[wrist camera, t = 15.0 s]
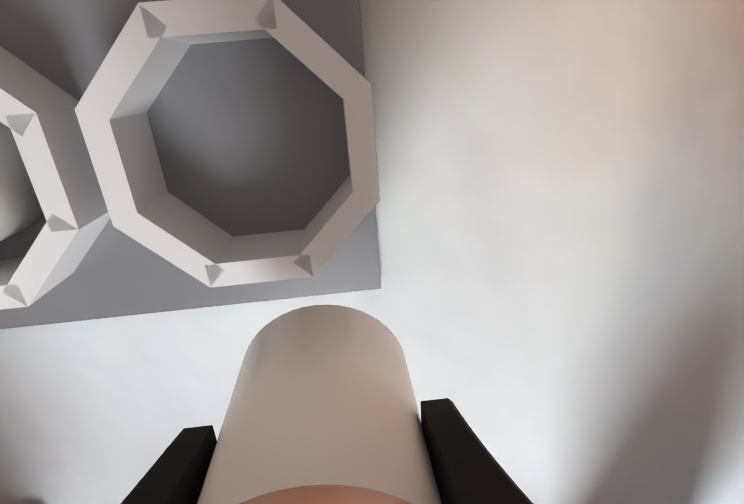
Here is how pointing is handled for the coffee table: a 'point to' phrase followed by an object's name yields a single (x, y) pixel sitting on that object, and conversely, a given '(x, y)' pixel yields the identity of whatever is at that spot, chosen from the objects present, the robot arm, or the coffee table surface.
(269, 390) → the rounded-end tube
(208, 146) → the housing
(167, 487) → the robot arm
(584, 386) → the coffee table surface
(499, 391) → the coffee table surface
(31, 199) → the teal-capped white cylinder
